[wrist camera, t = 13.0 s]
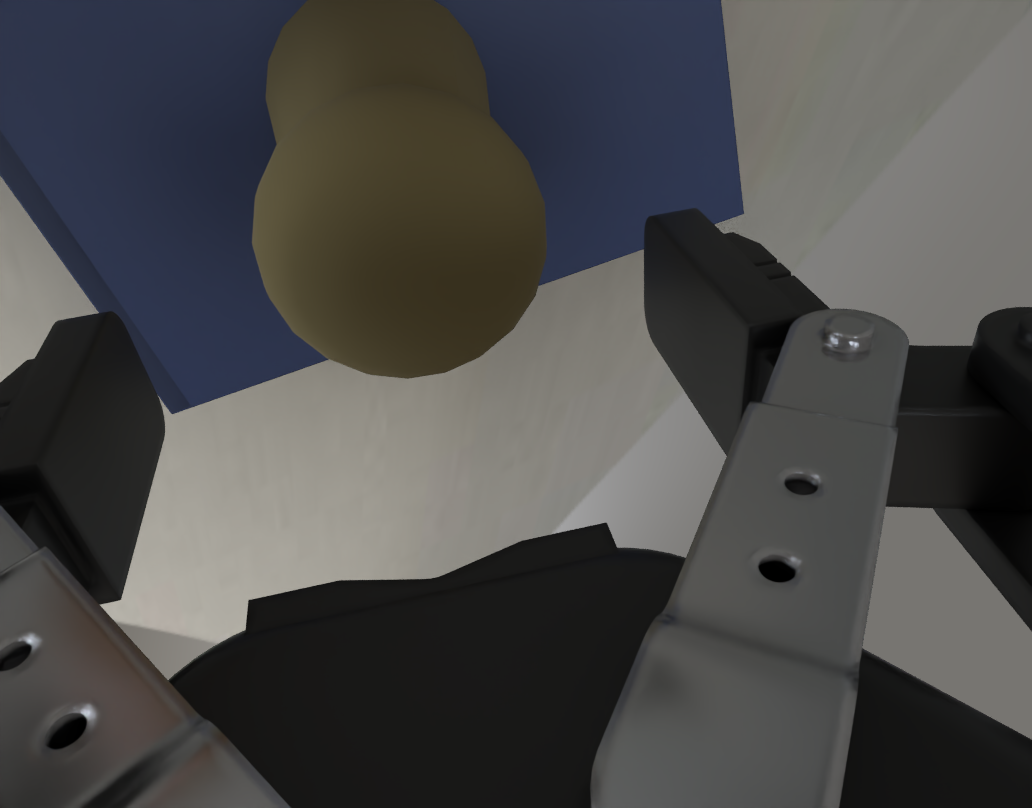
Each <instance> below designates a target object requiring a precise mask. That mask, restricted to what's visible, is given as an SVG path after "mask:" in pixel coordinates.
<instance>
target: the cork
mask: <svg viewBox="0 0 1032 808" xmlns="http://www.w3.org/2000/svg"><path fill="white" fill-rule="evenodd" d="M266 103H267V107H268V111H269V115H270V119H271V123H272V127H273V132H274V136H275V140H276V144H277V145H276V147H275V149H274V152H273V154H272V156H271V158H270V161H269V163H268V165H267V167H266V169H265V172H264V174H263V176H262V178H261V181H260V183H259V185H258V188H257V192H256V196H255V203H254V218H253V233H252V246H253V249H254V252H255V256H256V259H257V263H258V266H259V270H260V273H261V277H262V280H263V284H264V287H265V289H266V292H267V294H268V296H269V298H270V300H271V301H272V303H273V304H274V306H275V307H276V308H277V310H278V311H279V313H280V314H281V316H282V317H283V318H284V320H285V321H286V323H287V324H288V326H289V327H290V328H291V330H292V331H293V333H295V334H296V335H297V336H299V337H300V338H301V339H302V340H304V341H305V342H306V343H308V344H309V345H310V346H312V347H313V348H314V349H315V350H317V351H318V352H319V353H321V354H322V355H323V356H325V357H326V358H328V359H330V360H333V361H335V362H338V363H341V364H343V365H346V366H348V367H351V368H353V369H356V370H359V371H361V372H364V373H367V374H370V375H379V376H389V377H398V378H414V377H420V376H427V375H433V374H439V373H445V372H447V371H450V370H452V369H454V368H456V367H459V366H461V365H463V364H465V363H467V362H470V361H472V360H474V359H476V358H479V357H480V356H481V355H483V354H484V353H485V352H486V351H488V350H489V349H490V348H491V347H492V346H494V345H495V344H496V343H497V342H498V341H500V340H501V339H502V338H503V337H504V336H506V335H507V334H508V333H509V332H510V331H511V330H513V329H514V327H515V326H516V324H517V323H518V321H519V320H520V318H521V317H522V315H523V314H524V312H525V311H526V309H527V308H528V306H529V305H530V303H531V302H532V300H533V299H534V297H535V295H536V292H537V288H538V285H539V281H540V278H541V274H542V270H543V267H544V263H545V260H546V251H547V240H546V219H545V202H544V200H543V197H542V195H541V192H540V190H539V187H538V185H537V182H536V180H535V177H534V175H533V172H532V170H531V167H530V165H529V162H528V160H527V159H526V158H525V156H524V155H523V153H522V152H521V150H520V149H519V148H518V147H517V146H516V145H515V143H514V142H513V141H512V140H511V139H510V138H509V136H508V135H507V134H506V133H505V132H504V131H503V129H502V128H501V127H500V126H499V125H498V124H497V122H496V121H495V120H494V119H493V118H492V117H491V116H490V109H489V100H488V91H487V82H486V73H485V70H484V68H483V65H482V63H481V60H480V58H479V55H478V53H477V50H476V48H475V45H474V43H473V40H472V38H471V37H470V36H469V35H468V33H467V32H466V31H465V30H464V28H463V27H462V26H461V25H460V24H459V22H458V21H457V20H456V19H455V17H454V16H453V15H452V14H451V13H450V11H449V10H448V9H447V8H445V7H444V6H442V5H440V4H439V3H437V2H436V1H434V0H307V1H306V2H305V4H304V5H303V6H302V7H301V8H300V9H299V10H298V11H297V12H296V13H295V14H294V15H293V16H292V18H291V19H290V20H289V21H288V22H287V23H286V24H285V25H284V26H283V27H282V30H281V32H280V34H279V37H278V39H277V41H276V44H275V46H274V49H273V51H272V53H271V56H270V58H269V60H268V69H267V84H266Z"/></svg>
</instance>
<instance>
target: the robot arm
mask: <svg viewBox="0 0 1032 808" xmlns="http://www.w3.org/2000/svg"><path fill="white" fill-rule="evenodd" d="M644 309H645V318H646V323H647V327H648V331H649V334H650V337H651V339H652V342H653V343H654V345H655V347H656V348H657V350H658V351H659V353H660V354H661V356H662V357H663V359H664V360H665V362H666V363H667V365H668V367H669V368H670V370H671V371H672V373H673V374H674V376H675V377H676V379H677V380H678V382H679V383H680V385H681V386H682V388H683V390H684V391H685V393H686V394H687V396H688V397H689V399H690V400H691V402H692V403H693V405H694V406H695V408H696V409H697V411H698V413H699V414H700V415H701V417H702V419H703V420H704V422H705V423H706V425H707V426H708V428H709V429H710V431H711V433H712V434H713V436H714V437H715V439H716V440H717V442H718V443H719V445H720V446H721V448H722V449H723V451H724V452H725V454H726V456H727V458H726V460H725V463H724V465H723V468H722V470H721V473H720V475H719V478H718V480H717V482H716V485H715V487H714V490H713V492H712V495H711V497H710V500H709V502H708V505H707V507H706V510H705V512H704V515H703V517H702V520H701V522H700V525H699V527H698V530H697V532H696V535H695V537H694V540H693V542H692V544H691V547H690V549H689V552H688V554H687V557H686V558H684V557H681V556H677V555H673V554H670V553H665V552H659V551H654V550H649V549H637V548H617V547H616V544H615V542H614V539H613V537H612V534H611V532H610V530H609V527H608V525H607V523H602V524H598V525H593V526H588V527H584V528H579V529H575V530H570V531H566V532H561V533H556V534H551V535H547V536H542V537H538V538H533V539H528V540H524V541H520V542H518V543H516V544H514V545H511V546H509V547H507V548H504V549H502V550H500V551H498V552H495V553H493V554H491V555H488V556H486V557H484V558H481V559H479V560H477V561H475V562H472V563H470V564H468V565H465V566H463V567H461V568H459V569H456V570H454V571H452V572H449V573H447V574H445V575H442V576H440V577H436V578H432V579H407V580H341V581H335V582H330V583H326V584H321V585H317V586H312V587H307V588H303V589H298V590H294V591H289V592H284V593H280V594H275V595H271V596H266V597H261V598H257V599H252V600H249V601H248V611H247V621H246V630H245V631H242V632H240V633H238V634H236V635H234V636H232V637H230V638H228V639H226V640H224V641H223V642H221V643H219V644H217V645H215V646H213V647H212V648H210V649H209V650H207V651H206V652H204V653H203V654H201V655H200V656H198V657H197V658H195V659H194V660H192V661H191V662H190V663H189V664H187V665H186V666H185V667H183V668H182V669H181V670H180V671H178V672H177V673H176V674H175V675H174V676H172V677H171V678H170V679H169V680H167V679H166V678H165V677H164V676H163V675H162V673H161V672H160V671H159V670H158V669H157V668H156V667H155V666H154V665H153V664H152V662H151V661H150V660H149V659H148V658H147V657H146V656H145V655H144V654H143V652H141V650H140V649H139V648H138V647H137V646H136V645H135V644H134V643H133V641H132V640H131V639H130V638H129V637H128V636H127V635H126V634H125V633H124V632H123V630H122V629H121V628H120V627H119V626H118V625H117V624H116V623H115V622H114V620H113V619H112V618H111V617H110V616H109V615H108V614H107V613H106V612H105V611H104V609H103V608H102V607H101V606H100V604H104V603H109V602H114V601H118V600H121V598H122V594H123V590H124V586H125V583H126V579H127V575H128V571H129V568H130V564H131V560H132V556H133V553H134V549H135V545H136V541H137V538H138V534H139V530H140V527H141V523H142V519H143V515H144V512H145V508H146V504H147V500H148V497H149V493H150V489H151V485H152V482H153V478H154V474H155V471H156V467H157V463H158V459H159V456H160V452H161V448H162V444H163V441H164V436H165V421H164V415H163V410H162V406H161V403H160V400H159V398H158V395H157V393H156V391H155V389H154V387H153V384H152V382H151V380H150V378H149V376H148V374H147V371H146V369H145V367H144V365H143V363H142V361H141V359H140V356H139V354H138V352H137V350H136V348H135V346H134V343H133V341H132V339H131V337H130V335H129V333H128V330H127V328H126V326H125V324H124V323H123V321H122V320H121V318H120V317H119V316H118V315H117V314H116V313H114V312H112V311H109V312H103V313H98V314H92V315H87V316H81V317H75V318H70V319H64V320H59V321H57V322H55V324H54V325H53V327H52V329H51V330H50V332H49V334H48V336H47V338H46V339H45V341H44V343H43V345H42V346H41V348H40V350H39V352H38V354H37V355H36V357H35V359H30V360H27V361H25V362H24V363H23V364H22V365H21V366H19V367H18V368H17V369H16V370H15V371H14V372H12V373H11V374H10V375H9V376H8V377H6V378H5V379H4V380H3V381H2V382H1V383H0V808H1032V740H1031V739H1030V738H1028V737H1026V736H1024V735H1022V734H1020V733H1018V732H1017V731H1015V730H1013V729H1011V728H1009V727H1007V726H1005V725H1004V724H1002V723H1000V722H998V721H996V720H994V719H992V718H991V717H989V716H987V715H985V714H983V713H981V712H979V711H978V710H975V709H974V708H972V707H970V706H968V705H966V704H965V703H963V702H961V701H959V700H957V699H955V698H953V697H952V696H950V695H948V694H946V693H944V692H942V691H940V690H939V689H936V688H935V687H933V686H931V685H929V684H927V683H926V682H924V681H921V680H920V679H918V678H916V677H914V676H913V675H911V674H909V673H907V672H905V671H903V670H902V669H900V668H898V667H896V666H894V665H892V664H890V663H889V662H887V661H885V660H882V659H881V658H879V657H877V656H875V655H874V654H871V653H870V652H868V651H866V650H864V649H863V648H862V646H863V640H864V634H865V628H866V622H867V616H868V610H869V604H870V597H871V591H872V585H873V578H874V573H875V567H876V561H877V555H878V549H879V543H880V537H881V531H882V525H883V519H884V513H885V507H886V506H888V507H916V508H918V507H919V508H933V509H934V510H935V512H936V514H937V515H938V516H939V517H940V518H941V520H942V521H943V522H944V523H945V525H946V526H947V527H948V528H949V530H950V531H951V532H952V533H953V534H954V536H955V537H956V538H957V539H958V541H959V542H960V543H961V544H962V545H963V547H964V548H965V549H966V551H967V552H968V553H969V554H970V555H971V557H972V558H973V559H974V560H975V562H976V563H977V564H978V565H979V567H980V568H981V569H982V570H983V572H984V573H985V574H986V575H987V577H988V578H989V579H990V580H991V581H992V583H993V584H994V585H995V586H996V587H997V589H998V590H999V591H1000V593H1001V594H1002V595H1003V596H1004V598H1005V599H1006V600H1007V601H1008V602H1009V604H1010V605H1011V606H1012V607H1013V609H1014V610H1015V611H1016V612H1017V614H1018V615H1019V616H1020V617H1021V618H1022V620H1023V621H1024V622H1025V624H1026V625H1027V626H1028V627H1029V628H1030V630H1031V631H1032V307H1016V308H1007V309H1002V310H998V311H995V312H993V313H990V314H988V315H987V316H985V317H984V318H983V319H982V320H981V321H980V323H979V325H978V328H977V332H976V335H975V338H974V342H973V345H972V346H912V345H909V340H908V337H907V335H906V334H905V332H904V331H903V330H902V329H901V328H900V327H899V326H898V325H896V324H895V323H893V322H891V321H890V320H887V319H886V318H883V317H881V316H878V315H876V314H872V313H868V312H864V311H859V310H851V309H830V308H829V307H828V306H827V305H825V304H824V303H823V302H822V301H821V300H820V299H819V298H818V297H817V296H816V295H815V294H814V293H812V292H811V291H810V290H809V289H808V288H807V287H806V286H805V285H804V284H803V283H802V282H801V281H800V280H799V279H798V278H796V277H795V276H791V272H790V271H789V270H788V269H787V268H786V267H785V266H784V265H782V264H781V263H777V259H776V258H775V257H774V256H773V255H772V254H771V253H770V252H768V251H767V250H766V249H765V248H764V247H763V246H762V245H761V244H760V243H757V242H755V241H752V240H750V239H748V238H745V237H743V236H740V235H738V234H736V233H733V232H732V233H726V234H723V233H722V232H721V231H720V230H719V229H718V228H717V227H716V226H715V225H714V224H713V223H712V222H711V221H710V220H709V219H708V218H707V217H706V216H705V215H704V214H703V213H702V212H701V211H700V210H698V209H697V208H692V209H686V210H680V211H675V212H669V213H664V214H658V215H652V216H649V217H648V218H647V220H646V223H645V229H644Z"/></svg>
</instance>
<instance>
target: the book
mask: <svg viewBox="0 0 1032 808" xmlns="http://www.w3.org/2000/svg"><path fill="white" fill-rule="evenodd" d="M306 1H307V0H0V176H1V177H2V178H3V180H4V181H5V183H6V184H7V185H8V187H9V188H10V190H11V191H12V192H13V194H14V195H15V197H16V198H17V199H18V201H19V202H20V204H21V205H22V206H23V208H24V209H25V211H26V212H27V213H28V215H29V216H30V217H31V219H32V220H33V222H34V223H35V224H36V226H37V227H38V229H39V230H40V231H41V233H42V234H43V236H44V237H45V238H46V240H47V241H48V243H49V244H50V245H51V247H52V248H53V250H54V251H55V252H56V254H57V255H58V256H59V258H60V259H61V261H62V262H63V263H64V265H65V266H66V268H67V269H68V270H69V272H70V273H71V275H72V276H73V277H74V279H75V280H76V282H77V283H78V284H79V286H80V287H81V288H82V290H83V291H84V293H85V294H86V295H87V297H88V298H89V300H90V301H91V302H92V304H93V305H94V307H95V308H96V309H97V311H98V312H99V313H103V312H109V311H112V312H114V313H116V314H117V315H118V316H119V317H120V318H121V320H122V321H123V323H124V324H125V326H126V328H127V330H128V333H129V335H130V337H131V339H132V341H133V343H134V346H135V348H136V350H137V352H138V354H139V356H140V359H141V361H142V363H143V365H144V367H145V369H146V371H147V374H148V376H149V378H150V380H151V382H152V384H153V387H154V389H155V391H156V393H157V394H158V396H159V397H160V399H161V400H162V401H163V403H164V404H165V405H166V407H167V408H168V410H169V411H170V412H171V414H174V413H177V412H180V411H183V410H186V409H189V408H191V407H194V406H197V405H200V404H203V403H206V402H209V401H211V400H214V399H217V398H220V397H223V396H226V395H228V394H231V393H234V392H237V391H240V390H243V389H246V388H248V387H251V386H254V385H257V384H260V383H263V382H266V381H268V380H271V379H274V378H277V377H280V376H283V375H286V374H288V373H291V372H294V371H297V370H300V369H303V368H305V367H308V366H311V365H314V364H317V363H320V362H323V361H325V360H328V358H326V357H325V356H323V355H322V354H321V353H319V352H318V351H317V350H315V349H314V348H313V347H312V346H310V345H309V344H308V343H306V342H305V341H304V340H302V339H301V338H300V337H299V336H297V335H296V334H295V333H293V331H292V330H291V328H290V327H289V326H288V324H287V323H286V321H285V320H284V318H283V317H282V316H281V314H280V313H279V311H278V310H277V308H276V307H275V306H274V304H273V303H272V301H271V300H270V298H269V296H268V294H267V292H266V289H265V287H264V284H263V280H262V277H261V273H260V270H259V266H258V263H257V259H256V256H255V252H254V249H253V246H252V233H253V218H254V203H255V196H256V192H257V188H258V185H259V183H260V181H261V178H262V176H263V174H264V172H265V169H266V167H267V165H268V163H269V161H270V158H271V156H272V154H273V152H274V149H275V147H276V145H277V144H276V140H275V136H274V132H273V127H272V123H271V119H270V115H269V111H268V107H267V103H266V84H267V69H268V60H269V58H270V56H271V53H272V51H273V49H274V46H275V44H276V41H277V39H278V37H279V34H280V32H281V30H282V27H283V26H284V25H285V24H286V23H287V22H288V21H289V20H290V19H291V18H292V16H293V15H294V14H295V13H296V12H297V11H298V10H299V9H300V8H301V7H302V6H303V5H304V4H305V2H306ZM434 1H436V2H437V3H439V4H440V5H442V6H444V7H445V8H447V9H448V10H449V11H450V13H451V14H452V15H453V16H454V17H455V19H456V20H457V21H458V22H459V24H460V25H461V26H462V27H463V28H464V30H465V31H466V32H467V33H468V35H469V36H470V37H471V38H472V40H473V43H474V45H475V48H476V50H477V53H478V55H479V58H480V60H481V63H482V65H483V68H484V70H485V73H486V82H487V91H488V100H489V109H490V116H491V117H492V118H493V119H494V120H495V121H496V122H497V124H498V125H499V126H500V127H501V128H502V129H503V131H504V132H505V133H506V134H507V135H508V136H509V138H510V139H511V140H512V141H513V142H514V143H515V145H516V146H517V147H518V148H519V149H520V150H521V152H522V153H523V155H524V156H525V158H526V159H527V160H528V162H529V165H530V167H531V170H532V172H533V175H534V177H535V180H536V182H537V185H538V187H539V190H540V192H541V195H542V197H543V200H544V202H545V219H546V240H547V251H546V260H545V263H544V267H543V270H542V274H541V278H540V281H539V285H542V284H545V283H548V282H551V281H554V280H556V279H559V278H562V277H565V276H568V275H571V274H574V273H576V272H579V271H582V270H585V269H588V268H591V267H594V266H596V265H599V264H602V263H605V262H608V261H611V260H614V259H616V258H619V257H622V256H625V255H628V254H631V253H634V252H636V251H639V250H642V249H644V229H645V223H646V220H647V218H648V217H649V216H652V215H658V214H664V213H669V212H675V211H680V210H686V209H692V208H697V209H698V210H700V211H701V212H702V213H703V214H704V215H705V216H706V217H707V218H708V219H709V220H710V221H711V222H712V223H713V224H716V223H719V222H722V221H725V220H728V219H730V218H733V217H736V216H739V215H742V214H744V210H743V201H742V192H741V182H740V173H739V164H738V155H737V145H736V136H735V127H734V118H733V109H732V99H731V90H730V81H729V72H728V62H727V53H726V44H725V35H724V25H723V16H722V7H721V0H434ZM539 285H538V286H539Z"/></svg>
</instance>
